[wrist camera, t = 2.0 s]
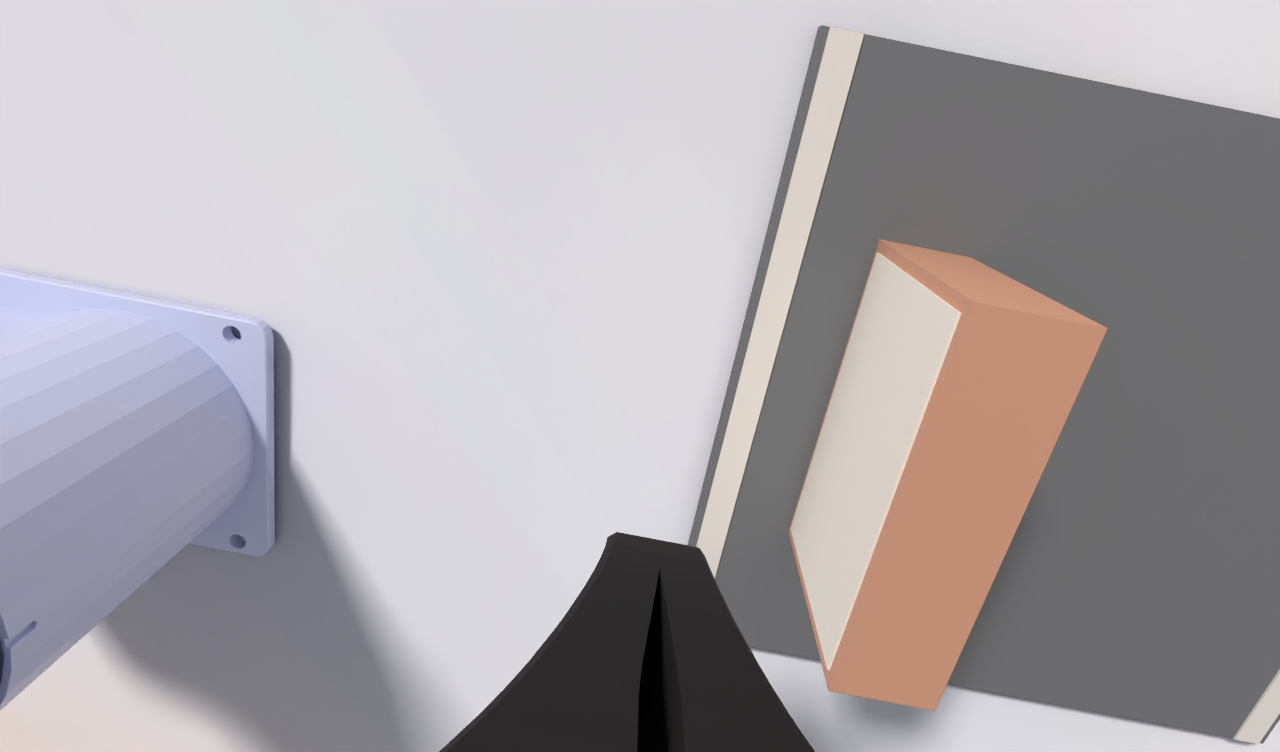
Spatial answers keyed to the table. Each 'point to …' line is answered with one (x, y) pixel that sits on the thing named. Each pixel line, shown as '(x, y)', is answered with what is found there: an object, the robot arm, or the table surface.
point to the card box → (928, 464)
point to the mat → (1107, 401)
